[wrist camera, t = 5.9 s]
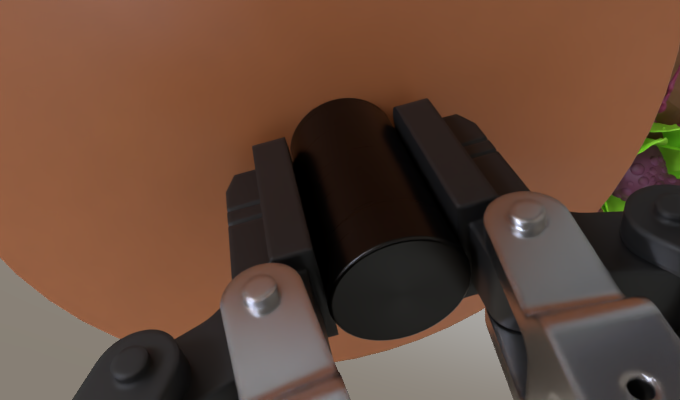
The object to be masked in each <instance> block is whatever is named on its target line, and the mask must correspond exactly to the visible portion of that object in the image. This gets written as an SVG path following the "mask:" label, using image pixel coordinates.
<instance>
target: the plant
mask: <svg viewBox="0 0 680 400" xmlns="http://www.w3.org/2000/svg"><path fill="white" fill-rule="evenodd" d="M660 184H671V185H679V186H680V45H679V51H678V54H677V58H676V61H675V64H674V68H673V71H672V75H671V78H670V81H669V85H668V88H667V91H666V94H665V96H664V99H663V101H662V104H661V106H660V108H659V111H658V113H657V116H656V118H655V120H654V123H653V125H652V128H651V130H650V132H649V134H648V135H647V137H646V139H645V141H644V143H643V145H642V146H641V148H640V150H639V152H638V154H637V156H636V157H635V159H634V161H633V163H632V165H631V166H630V168H629V169H628V171H627V172H626V174H625V175H624V177H623V178H622V180H621V181H620V182H619V184H618V185H617V187H616V188H615V190H614V191H613V193H612V194H611V196H610V197H609V198H608V199H607V201H606V202H605V203H604V204H603V206H602V207H601V208H600V209H599V210H598V212H617V211H624V207H625V202H626V200H627V198H628V197H629V196H630V195H631V194H632V193H633V192H635V191H637V190H639V189H641V188H644V187H647V186H651V185H660Z"/></svg>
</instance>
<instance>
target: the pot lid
mask: <svg viewBox="0 0 680 400" xmlns="http://www.w3.org/2000/svg"><path fill="white" fill-rule="evenodd" d="M679 45H680V0H0V258H1V259H2V260H3V261H4V262H5V263H6V264H7V265H8V266H9V267H10V268H11V269H12V270H13V271H14V272H15V273H16V274H17V275H18V276H19V277H21V278H22V279H23V280H24V281H26V282H27V283H28V284H29V285H31V286H32V287H33V288H34V289H36V290H37V291H38V292H39V293H41V294H42V295H43V296H44V297H46V298H47V299H48V300H50V301H51V302H53V303H55V304H56V305H58V306H59V307H61V308H62V309H64V310H66V311H67V312H69V313H70V314H72V315H74V316H75V317H77V318H78V319H80V320H82V321H83V322H86V323H88V324H90V325H92V326H94V327H96V328H98V329H100V330H102V331H104V332H106V333H108V334H110V335H112V336H114V337H117V338H119V339H122V338H124V337H126V336H127V335H130V334H132V333H135V332H138V331H142V330H149V329H155V330H161V331H164V332H166V333H168V334H170V335H171V336H172V337H173V338H174V339H176V338H177V337H179V336H181V335H183V334H184V333H186V332H188V331H189V330H191V329H193V328H195V327H196V326H198V325H200V324H201V323H203V322H204V321H206V320H207V319H209V318H210V317H211V316H212V315H213V314H214V313H215V312H216V311H217V310H218V309H219V308H220V301H221V297H222V294H223V292H224V290H225V288H226V287H227V285H228V284H229V283H230V282H231V281H232V276H231V261H230V247H229V233H228V227H229V225H228V219H227V213H228V211H227V204H226V191H227V189H228V187H229V185H230V183H231V181H232V179H233V177H234V175H237V174H240V173H244V172H247V171H251V170H255V164H254V157H253V151H252V146H254V145H257V144H261V143H264V142H268V141H272V140H275V139H279V138H283V137H285V139H286V142H287V145H288V148H289V151H290V155H291V158H292V162H293V165H294V169H295V173H296V177H297V181H298V185H299V189H300V193H301V197H302V201H303V205H304V209H305V213H306V217H307V221H308V225H309V229H310V233H311V237H312V241H313V245H314V249H315V253H316V257H317V261H318V265H319V268H320V272H321V276H322V280H323V284H324V291H325V296H326V300H327V304H328V308H329V312H330V315H331V317H332V319H333V320H334V322H335V323H336V325H337V329H338V333H339V335H336V336H332V337H329V338H328V340H329V344H330V349H331V353H332V357H333V360H334V362H338V361H344V360H350V359H355V358H360V357H363V356H367V355H371V354H375V353H379V352H383V351H387V350H390V349H393V348H396V347H399V346H402V345H405V344H408V343H411V342H414V341H417V340H420V339H422V338H424V337H427V336H429V335H431V334H434V333H436V332H438V331H441V330H443V329H445V328H448V327H450V326H452V325H454V324H456V323H458V322H460V321H462V320H463V319H466V318H467V317H469V316H471V315H473V314H475V313H477V312H479V311H481V310H482V309H484V308H485V305H484V303H483V302H482V300H481V298H480V296H479V294H477V295H473V296H470V297H466V298H464V297H465V295H466V293H467V291H468V288H469V285H470V281H471V266H470V262H469V260H468V257H467V256H466V254H465V252H464V250H463V249H462V247H461V245H460V243H459V242H458V240H457V238H456V236H455V235H454V233H453V231H452V229H451V228H450V226H449V224H448V222H447V220H446V219H445V217H444V215H443V213H442V212H441V210H440V208H439V206H438V205H437V203H436V201H435V199H434V197H433V196H432V194H431V192H430V190H429V189H428V187H427V185H426V183H425V182H424V180H423V178H422V176H421V174H420V173H419V171H418V169H417V167H416V166H415V164H414V162H413V160H412V159H411V157H410V155H409V153H408V151H407V150H406V148H405V146H404V144H403V143H402V141H401V139H400V137H399V136H398V134H397V132H396V130H395V126H394V119H393V108H394V107H396V106H400V105H403V104H407V103H410V102H414V101H418V100H421V99H425V98H427V99H429V100H430V102H431V103H432V104H433V106H434V107H435V109H436V110H437V111H438V113H439V114H440V115H441V117H442V118H443V117H447V116H450V115H454V114H458V115H460V116H462V117H464V118H466V119H468V120H470V121H472V122H474V123H476V124H477V126H478V127H479V128H480V129H481V131H482V132H483V133H484V134H485V136H486V137H487V140H490V142H491V143H492V144H493V145H494V147H495V148H496V151H498V152H499V153H500V154H501V155H502V157H503V158H504V159H505V160H506V161H507V163H508V164H509V165H510V166H511V168H512V169H513V170H514V171H515V173H516V174H517V175H518V176H519V178H520V179H521V180H522V181H523V182H524V184H525V185H526V186H527V187H528V189H529V190H530V191H532V192H539V193H543V194H546V195H549V196H551V197H554V198H555V199H557V200H559V201H560V202H561V203H563V204H564V205H565V206H566V207H567V209H568V210H569V211H570V212H578V213H592V212H598V210H599V209H600V208H601V207H602V206H603V204H604V203H605V202H606V201H607V199H608V198H609V197H610V196H611V194H612V193H613V191H614V190H615V188H616V187H617V185H618V184H619V182H620V181H621V180H622V178H623V177H624V175H625V174H626V172H627V171H628V169H629V168H630V166H631V165H632V163H633V161H634V159H635V157H636V156H637V154H638V152H639V150H640V148H641V146H642V145H643V143H644V141H645V139H646V137H647V135H648V134H649V132H650V130H651V128H652V125H653V123H654V120H655V118H656V116H657V113H658V111H659V108H660V106H661V104H662V101H663V99H664V96H665V94H666V91H667V88H668V85H669V81H670V78H671V75H672V71H673V68H674V64H675V61H676V58H677V54H678V51H679Z"/></svg>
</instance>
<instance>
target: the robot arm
mask: <svg viewBox="0 0 680 400" xmlns="http://www.w3.org/2000/svg"><path fill="white" fill-rule="evenodd" d="M393 119H394V126H395V130H396V132H397V134H398V136H399V137H400V139H401V141H402V143H403V144H404V146H405V148H406V150H407V151H408V153H409V155H410V157H411V159H412V160H413V162H414V164H415V166H416V167H417V169H418V171H419V173H420V174H421V176H422V178H423V180H424V182H425V183H426V185H427V187H428V189H429V190H430V192H431V194H432V196H433V197H434V199H435V201H436V203H437V205H438V206H439V208H440V210H441V212H442V213H443V215H444V217H445V219H446V220H447V222H448V224H449V226H450V228H451V229H452V231H453V233H454V235H455V236H456V238H457V240H458V242H459V243H460V245H461V247H462V249H463V250H464V252H465V254H466V256H467V257H468V260H469V262H470V266H471V281H470V285H469V288H468V291H467V293H466V295H465V297H464V298H466V297H470V296H473V295H477V294H479V296H480V298H481V300H482V302H483V303H484V305H485V321H486V325H487V328H488V331H489V334H490V337H491V339H492V342H493V345H494V348H495V350H496V353H497V356H498V359H499V361H500V364H501V367H502V370H503V372H504V375H505V378H506V380H507V383H508V386H509V389H510V391H511V394H512V397H513V400H680V186H679V185H671V184H660V185H651V186H647V187H644V188H641V189H639V190H637V191H635V192H633V193H632V194H631V195H630V196H629V197H628V198H627V200H626V202H625V207H624V211H617V212H592V213H578V212H570V211H569V210H568V209H567V207H566V206H565V205H564V204H563V203H561V202H560V201H559V200H557V199H555V198H554V197H551V196H549V195H546V194H543V193H539V192H532V191H530V190H529V189H528V187H527V186H526V185H525V184H524V182H523V181H522V180H521V179H520V178H519V176H518V175H517V174H516V173H515V171H514V170H513V169H512V168H511V166H510V165H509V164H508V163H507V161H506V160H505V159H504V158H503V157H502V155H501V154H500V153H499V152H498V151H496V148H495V147H494V145H493V144H492V143H491V142H490V140H487V137H486V136H485V134H484V133H483V132H482V131H481V129H480V128H479V127H478V126H477V124H476V123H474V122H472V121H470V120H468V119H466V118H464V117H462V116H460V115H458V114H454V115H450V116H447V117H443V118H442V117H441V115H440V114H439V113H438V111H437V110H436V109H435V107H434V106H433V104H432V103H431V102H430V100H429V99H427V98H425V99H421V100H418V101H414V102H410V103H407V104H403V105H400V106H396V107H394V108H393ZM252 151H253V157H254V164H255V170H251V171H247V172H244V173H240V174H237V175H234V177H233V179H232V181H231V183H230V185H229V187H228V189H227V191H226V204H227V211H228V213H227V219H228V225H229V227H228V233H229V247H230V261H231V276H232V281H231V282H230V283H229V284H228V285H227V287H226V288H225V290H224V292H223V294H222V297H221V301H220V308H219V309H218V310H217V311H216V312H215V313H214V314H213V315H212V316H211V317H210V318H209V319H207V320H206V321H204V322H203V323H201V324H200V325H198V326H196V327H195V328H193V329H191V330H189V331H188V332H186V333H184V334H183V335H181V336H179V337H177V338H176V339H174V338H173V337H172V336H171V335H170V334H168V333H166V332H164V331H161V330H155V329H149V330H142V331H138V332H135V333H132V334H130V335H127V336H126V337H124V338H122V339H120V340H119V341H117V342H116V343H114V344H113V345H112V346H111V347H110V348H108V349H107V350H106V351H105V352H104V353H103V355H102V356H101V357H100V358H99V360H98V361H97V362H96V364H95V366H94V367H93V368H92V370H91V372H90V373H89V375H88V376H87V378H86V379H85V381H84V382H83V384H82V385H81V387H80V388H79V390H78V391H77V393H76V395H75V396H74V398H73V399H72V400H351V399H350V397H349V394H348V392H347V389H346V387H345V384H344V382H343V379H342V377H341V375H340V373H339V372H338V370H337V367H336V365H335V362H334V360H333V357H332V353H331V349H330V344H329V340H328V338H329V337H332V336H336V335H339V333H338V329H337V325H336V323H335V322H334V320H333V319H332V317H331V315H330V312H329V308H328V304H327V300H326V296H325V291H324V284H323V280H322V276H321V272H320V268H319V265H318V261H317V257H316V253H315V249H314V245H313V241H312V237H311V233H310V229H309V225H308V221H307V217H306V213H305V209H304V205H303V201H302V197H301V193H300V189H299V185H298V181H297V177H296V173H295V169H294V165H293V162H292V158H291V155H290V151H289V148H288V145H287V142H286V139H285V137H283V138H279V139H275V140H272V141H268V142H264V143H261V144H257V145H254V146H252Z"/></svg>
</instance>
